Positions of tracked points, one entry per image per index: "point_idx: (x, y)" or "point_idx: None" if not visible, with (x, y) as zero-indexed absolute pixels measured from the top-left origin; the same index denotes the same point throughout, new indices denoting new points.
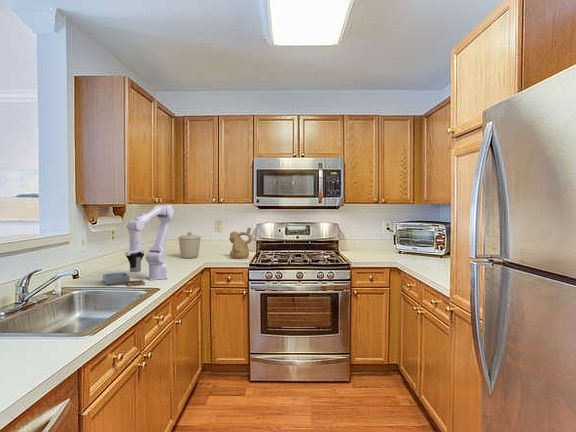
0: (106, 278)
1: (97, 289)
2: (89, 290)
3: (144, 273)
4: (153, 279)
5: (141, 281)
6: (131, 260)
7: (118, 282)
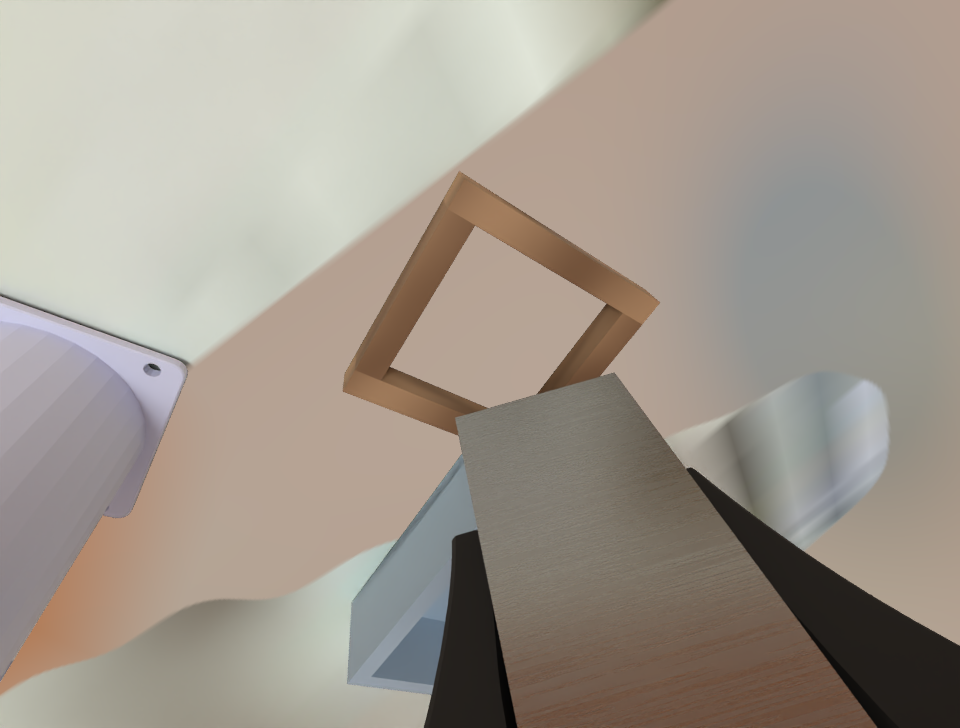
0: None
1: (832, 431)
2: (876, 448)
3: (7, 698)
4: (126, 346)
5: (419, 315)
6: None
7: None
